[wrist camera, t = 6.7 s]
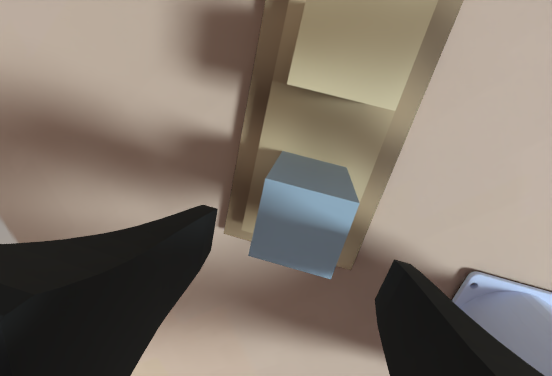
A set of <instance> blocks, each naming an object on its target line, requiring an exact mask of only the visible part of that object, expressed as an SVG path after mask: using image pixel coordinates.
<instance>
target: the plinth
mask: <svg viewBox="0 0 552 376" xmlns="http://www.w3.org/2000/svg"><path fill="white" fill-rule="evenodd" d="M305 2H306V0H265V6H264V11H263V17H262V22H261V28H260V34H259V39H258V45H257V50H256V56H255V61H254V67H253V73H252V78H251V84H250V89H249V95H248V101H247V106H246V112H245V117H244V123H243V129H242V134H241V140H240V145H239V151H238V156H237V162H236V168H235V173H234V179H233V184H232V190H231V196H230V201H229V207H228V212H227V218H226V223H225V229H224V234H227V235H230V236H234V237H237V238H241V239H244V240H248V241H252V237H253V232H254V228H255V223H256V219H257V214H258V210H259V205H260V201H261V196H262V192H263V187H264V182H265V178H266V177H267V175H268V173H269V172H270V170H271V169H272V167H273V165H274V164H275V162H276V161H277V159H278V157H279V156H280V154H281V153H282V151H285V152H289V153H293V154H297V155H301V156H304V157H308V158H312V159H316V160H320V161H324V162H328V163H332V164H335V165H339V166H343V167H347V170H348V173H349V175H350V178H351V181H352V184H353V186H354V189H355V192H356V195H357V197H358V200H359V203H360V204H359V206H358V209H357V212H356V214H355V217H354V220H353V222H352V225H351V228H350V230H349V233H348V235H347V238H346V241H345V243H344V246H343V249H342V251H341V254H340V257H339V259H338V262H337V264H336V266H337V267H341V268H344V269H348V270H351V269H352V266H353V264H354V261H355V259H356V257H357V254H358V252H359V249H360V247H361V245H362V242H363V240H364V237H365V235H366V233H367V230H368V228H369V225H370V223H371V221H372V218H373V216H374V213H375V211H376V209H377V206H378V204H379V201H380V199H381V197H382V194H383V192H384V190H385V187H386V185H387V182H388V180H389V178H390V175H391V173H392V170H393V168H394V166H395V163H396V161H397V158H398V156H399V154H400V151H401V149H402V146H403V144H404V142H405V139H406V137H407V134H408V132H409V130H410V127H411V125H412V123H413V120H414V118H415V115H416V113H417V111H418V108H419V106H420V103H421V101H422V99H423V96H424V94H425V91H426V89H427V87H428V84H429V82H430V79H431V77H432V75H433V72H434V70H435V67H436V65H437V63H438V60H439V58H440V56H441V53H442V51H443V48H444V46H445V44H446V41H447V39H448V36H449V34H450V32H451V29H452V27H453V24H454V22H455V20H456V17H457V15H458V12H459V10H460V8H461V5H462V3H463V0H438V2H437V5H436V8H435V10H434V13H433V15H432V18H431V20H430V23H429V26H428V28H427V31H426V33H425V36H424V39H423V41H422V44H421V46H420V49H419V51H418V54H417V57H416V59H415V62H414V64H413V67H412V70H411V72H410V75H409V77H408V80H407V82H406V85H405V88H404V90H403V93H402V95H401V98H400V100H399V103H398V106H397V108H396V111H393V110H389V109H385V108H381V107H377V106H373V105H369V104H365V103H361V102H357V101H353V100H349V99H345V98H341V97H337V96H333V95H329V94H325V93H321V92H317V91H313V90H309V89H305V88H300V87H296V86H292V85H288V84H287V81H288V77H289V72H290V68H291V64H292V59H293V55H294V51H295V46H296V42H297V37H298V33H299V29H300V24H301V20H302V15H303V11H304V7H305Z"/></svg>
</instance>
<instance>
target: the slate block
mask: <svg viewBox="0 0 552 376" xmlns="http://www.w3.org/2000/svg"><path fill="white" fill-rule="evenodd" d="M359 204H360V203H359V200H358V197H357V195H356V192H355V189H354V186H353V184H352V181H351V178H350V175H349V173H348V170H347V167H343V166H339V165H335V164H332V163H328V162H324V161H320V160H316V159H312V158H308V157H304V156H301V155H297V154H293V153H289V152H285V151H282V153H281V154H280V156H279V157H278V159H277V161H276V162H275V164H274V165H273V167H272V169H271V170H270V172H269V173H268V175H267V177H266V178H265V182H264V187H263V192H262V196H261V201H260V205H259V210H258V214H257V219H256V223H255V228H254V232H253V237H252V241H251V246H250V250H249V255H248V256H251V257H255V258H258V259H261V260H265V261H268V262H272V263H275V264H279V265H282V266H286V267H289V268H293V269H296V270H300V271H303V272H307V273H310V274H314V275H317V276H321V277H324V278H328V279H331V278H332V275H333V272H334V270H335V267H336V264H337V262H338V259H339V257H340V254H341V251H342V249H343V246H344V243H345V241H346V238H347V235H348V233H349V230H350V228H351V225H352V222H353V220H354V217H355V214H356V212H357V209H358V206H359Z"/></svg>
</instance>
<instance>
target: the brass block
mask: <svg viewBox="0 0 552 376" xmlns="http://www.w3.org/2000/svg"><path fill="white" fill-rule="evenodd" d="M437 2H438V0H306V2H305V7H304V11H303V15H302V20H301V24H300V29H299V33H298V37H297V42H296V46H295V51H294V55H293V59H292V64H291V68H290V72H289V77H288V81H287V84H288V85H292V86H296V87H300V88H305V89H309V90H313V91H317V92H321V93H325V94H329V95H333V96H337V97H341V98H345V99H349V100H353V101H357V102H361V103H365V104H369V105H373V106H377V107H381V108H385V109H389V110H393V111H396V108H397V106H398V103H399V100H400V98H401V95H402V93H403V90H404V88H405V85H406V82H407V80H408V77H409V75H410V72H411V70H412V67H413V64H414V62H415V59H416V57H417V54H418V51H419V49H420V46H421V44H422V41H423V39H424V36H425V33H426V31H427V28H428V26H429V23H430V20H431V18H432V15H433V13H434V10H435V8H436V5H437Z"/></svg>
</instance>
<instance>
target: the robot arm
mask: <svg viewBox="0 0 552 376" xmlns="http://www.w3.org/2000/svg"><path fill="white" fill-rule="evenodd" d="M216 215H217V209H216V208H213V207H209V206H206V205H201V206H197V207H194V208H191V209H188V210H185V211H183V212H180V213H177V214H174V215H171V216H168V217H165V218H162V219H159V220H156V221H152V222H149V223H145V224H142V225H139V226H135V227H131V228H127V229H123V230H118V231H113V232H109V233H104V234H98V235H91V236H84V237H78V238H71V239H63V240H54V241H44V242H31V243H16V244H0V376H130V375H131V373H132V372H133V370H134V368H135V367H136V365H137V363H138V361H139V360H140V358H141V356H142V354H143V353H144V351H145V349H146V348H147V346H148V344H149V343H150V341H151V339H152V338H153V336H154V334H155V333H156V331H157V329H158V328H159V326H160V325H161V323H162V322H163V320H164V319H165V317H166V316H167V315H168V313H169V312H170V310H171V309H172V308H173V306H174V305H175V304H176V302H177V301H178V300H179V298H180V297H181V296H182V294H183V293H184V292H185V290H186V289H187V287H188V286H189V285H190V283H191V282H192V281H193V279H194V278H195V277H196V275H197V274H198V272H199V271H200V269H201V267H202V266H203V264H204V262H205V260H206V258H207V257H208V255H209V253H210V251H211V246H212V240H213V234H214V228H215V221H216ZM472 283H474V284H473V285H471V284H472ZM375 305H376V316H377V324H378V329H379V333H380V337H381V342H382V346H383V350H384V354H385V358H386V362H387V366H388V370H389V374H390V376H552V292H549V291H545V290H542V289H538V288H535V287H531V286H528V285H524V284H521V283H517V282H513V281H510V280H506V279H503V278H499V277H496V276H492V275H489V274H485V273H481V272H477V271H475V272H471V273H470V274H469V275H468V276H467V277H466V279H465V281H464V282H463V284H462V285H461V287H460V288H459V290H458V292H457V293H456V295H455V296H454V298H453V300H452V301H451V300H450V299H449V298H448V297H447V296H446V295H445V294H444V293H443V292H442V291H441V290H439V289H438V288H437V287H436V286H435V285H434V284H433V283H432V282H431V281H430V280H429V279H428V278H426V277H425V276H424V275H423V274H422V273H421V272H420V271H418V270H417V269H416V268H415V267H413V266H412V265H411V264H408V263H405V262H401V261H398V260H394V261H393V263H392V265H391V268H390V270H389V272H388V274H387V276H386V278H385V280H384V282H383V284H382V286H381V288H380V290H379V292H378V294H377V296H376V298H375Z"/></svg>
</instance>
